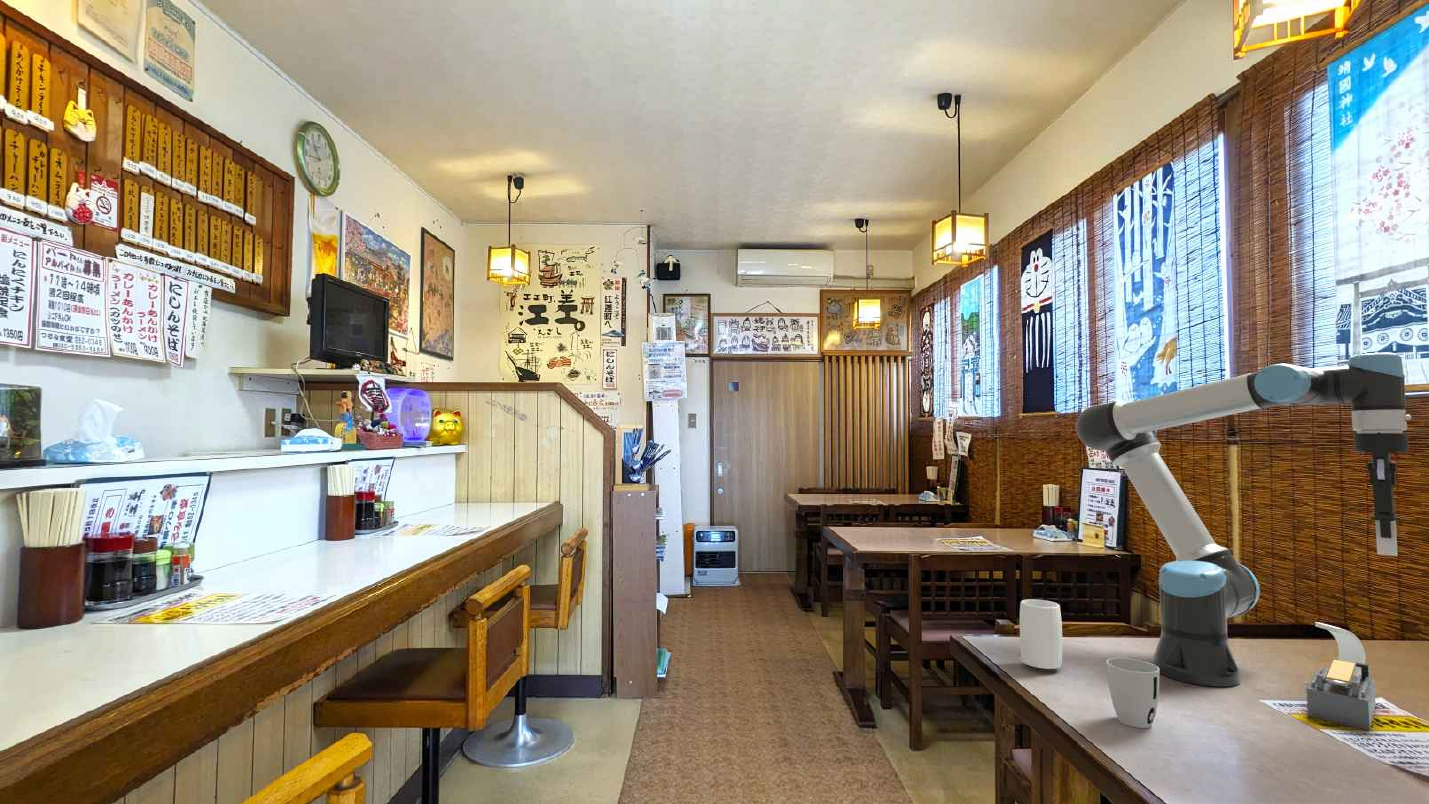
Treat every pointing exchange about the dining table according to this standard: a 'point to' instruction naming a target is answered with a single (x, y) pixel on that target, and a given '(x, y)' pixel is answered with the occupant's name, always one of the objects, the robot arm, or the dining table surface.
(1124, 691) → the cup
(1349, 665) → the tan flat bar
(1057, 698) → the dining table surface
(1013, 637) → the dining table surface
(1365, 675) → the block
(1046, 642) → the cup
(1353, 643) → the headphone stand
